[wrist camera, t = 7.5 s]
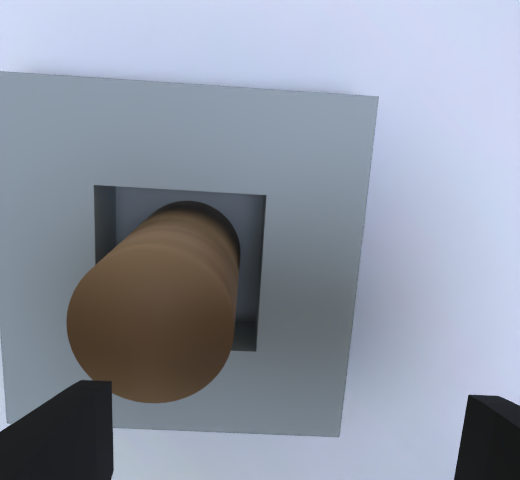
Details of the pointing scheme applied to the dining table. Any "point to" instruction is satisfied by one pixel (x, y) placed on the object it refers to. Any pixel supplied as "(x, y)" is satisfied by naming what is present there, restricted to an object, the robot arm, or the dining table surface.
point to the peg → (160, 306)
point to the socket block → (188, 189)
